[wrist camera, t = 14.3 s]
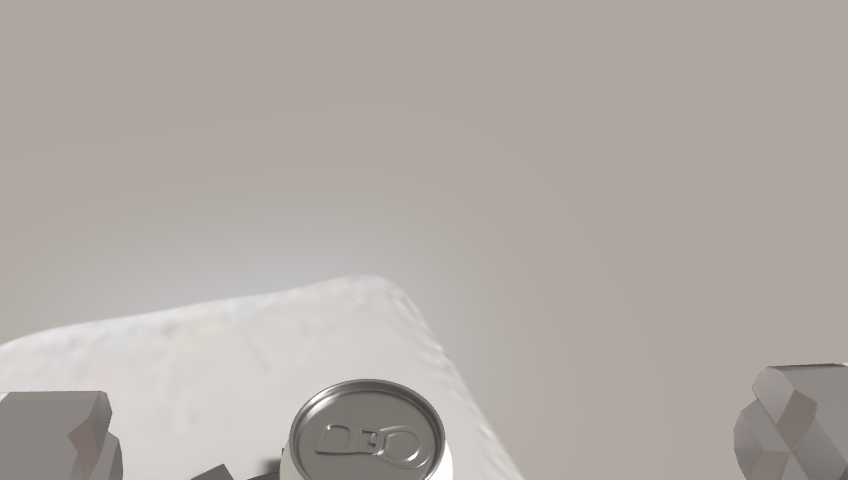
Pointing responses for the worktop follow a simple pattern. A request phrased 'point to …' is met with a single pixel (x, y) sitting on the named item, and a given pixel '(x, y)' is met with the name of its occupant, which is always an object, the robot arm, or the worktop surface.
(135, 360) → the worktop surface
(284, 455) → the can
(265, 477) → the sprocket plate
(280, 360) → the worktop surface
